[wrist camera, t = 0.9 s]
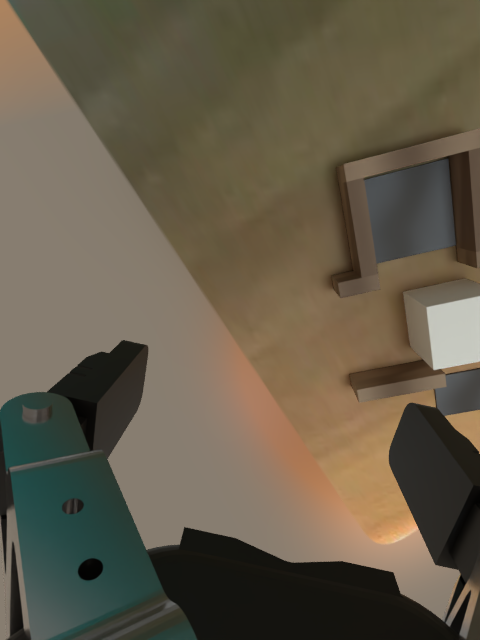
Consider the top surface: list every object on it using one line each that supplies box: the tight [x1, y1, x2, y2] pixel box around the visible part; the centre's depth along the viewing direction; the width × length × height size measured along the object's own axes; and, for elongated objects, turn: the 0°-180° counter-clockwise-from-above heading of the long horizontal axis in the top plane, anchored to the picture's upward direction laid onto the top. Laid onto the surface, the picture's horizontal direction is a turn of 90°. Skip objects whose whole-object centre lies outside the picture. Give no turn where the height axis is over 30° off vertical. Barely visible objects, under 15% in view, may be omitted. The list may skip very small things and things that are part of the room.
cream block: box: [403, 278, 480, 370], centre depth 30 cm, size 5×5×5 cm
